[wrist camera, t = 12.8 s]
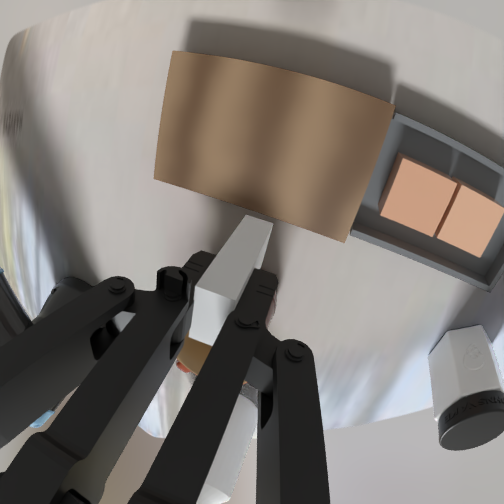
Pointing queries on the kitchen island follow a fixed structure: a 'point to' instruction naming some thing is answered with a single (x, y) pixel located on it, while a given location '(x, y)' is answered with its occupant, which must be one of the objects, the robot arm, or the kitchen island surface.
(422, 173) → the tile
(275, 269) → the kitchen island surface
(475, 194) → the tile
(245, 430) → the bottle
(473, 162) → the tray
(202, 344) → the mug
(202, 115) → the board
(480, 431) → the jar
